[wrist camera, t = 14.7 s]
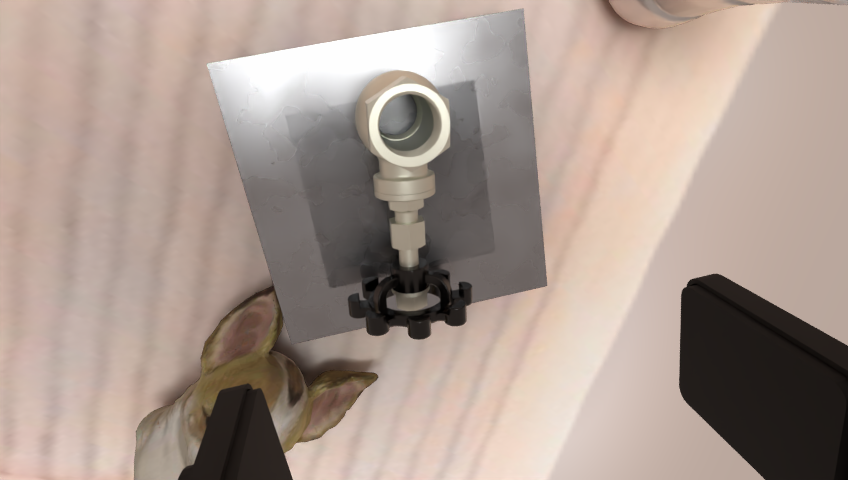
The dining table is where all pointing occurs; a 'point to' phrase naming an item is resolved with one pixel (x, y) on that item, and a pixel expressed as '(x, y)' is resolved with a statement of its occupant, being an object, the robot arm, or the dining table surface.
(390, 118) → the stand
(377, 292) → the valve
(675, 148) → the dining table surface
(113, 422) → the dining table surface
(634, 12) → the plastic bottle
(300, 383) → the ceramic sculpture
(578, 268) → the dining table surface
